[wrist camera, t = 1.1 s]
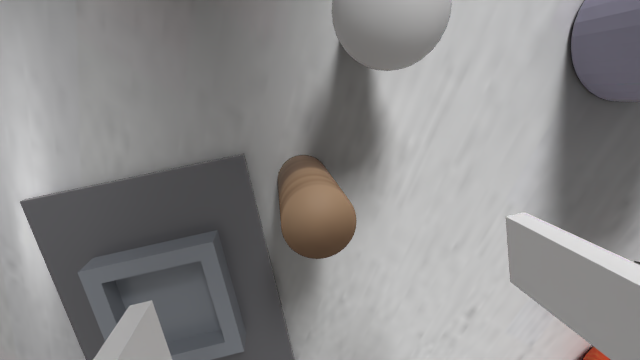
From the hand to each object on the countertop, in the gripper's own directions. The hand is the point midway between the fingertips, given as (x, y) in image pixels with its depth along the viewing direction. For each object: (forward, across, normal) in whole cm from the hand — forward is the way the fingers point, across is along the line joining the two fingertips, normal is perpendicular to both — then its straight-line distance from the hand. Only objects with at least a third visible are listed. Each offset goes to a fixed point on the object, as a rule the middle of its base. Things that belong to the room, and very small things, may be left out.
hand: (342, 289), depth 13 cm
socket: (+16, -12, -7) cm, 21 cm away
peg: (+16, 0, 0) cm, 16 cm away
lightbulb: (+16, +6, +10) cm, 20 cm away
